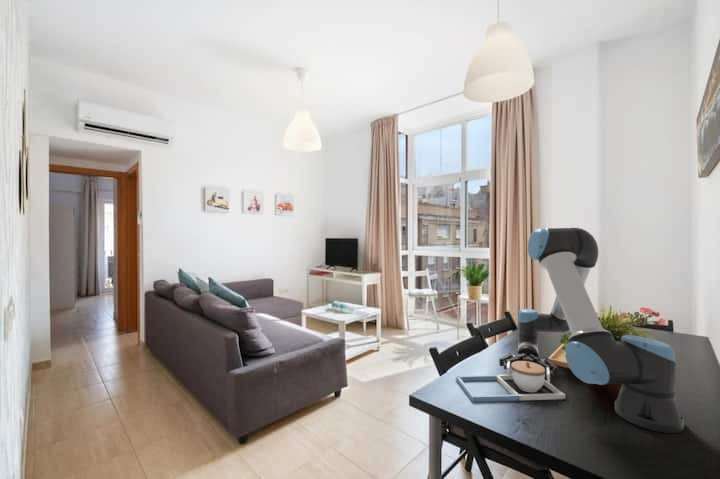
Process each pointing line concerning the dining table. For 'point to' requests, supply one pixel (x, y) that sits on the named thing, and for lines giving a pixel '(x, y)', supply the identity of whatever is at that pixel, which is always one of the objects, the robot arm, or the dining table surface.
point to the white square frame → (555, 395)
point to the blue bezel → (483, 397)
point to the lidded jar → (528, 375)
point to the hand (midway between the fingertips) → (527, 374)
